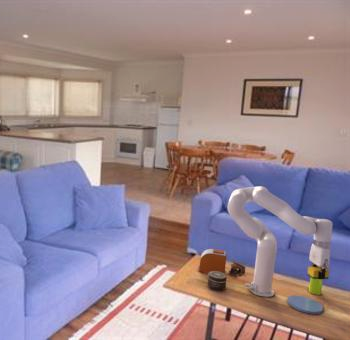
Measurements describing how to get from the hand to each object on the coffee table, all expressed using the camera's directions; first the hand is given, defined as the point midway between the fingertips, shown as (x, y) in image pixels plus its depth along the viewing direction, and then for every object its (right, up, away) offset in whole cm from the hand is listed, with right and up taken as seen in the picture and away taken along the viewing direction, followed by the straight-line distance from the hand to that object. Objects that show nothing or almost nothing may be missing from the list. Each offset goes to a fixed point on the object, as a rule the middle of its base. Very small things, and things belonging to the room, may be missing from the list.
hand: (317, 276), depth 193 cm
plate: (-7, -15, -1) cm, 17 cm away
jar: (-48, -11, +15) cm, 51 cm away
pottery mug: (-30, -9, +32) cm, 44 cm away
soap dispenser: (+7, -13, +14) cm, 21 cm away
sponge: (0, 0, 0) cm, 0 cm away
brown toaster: (-44, -7, +36) cm, 57 cm away
